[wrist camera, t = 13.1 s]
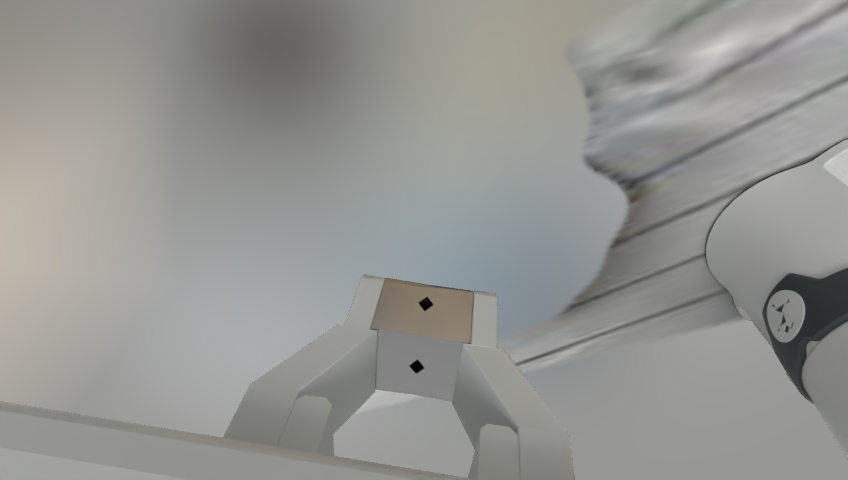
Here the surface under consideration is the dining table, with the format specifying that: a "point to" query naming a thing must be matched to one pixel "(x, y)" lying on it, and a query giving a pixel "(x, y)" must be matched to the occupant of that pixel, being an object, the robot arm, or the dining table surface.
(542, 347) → the dining table surface
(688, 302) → the dining table surface
